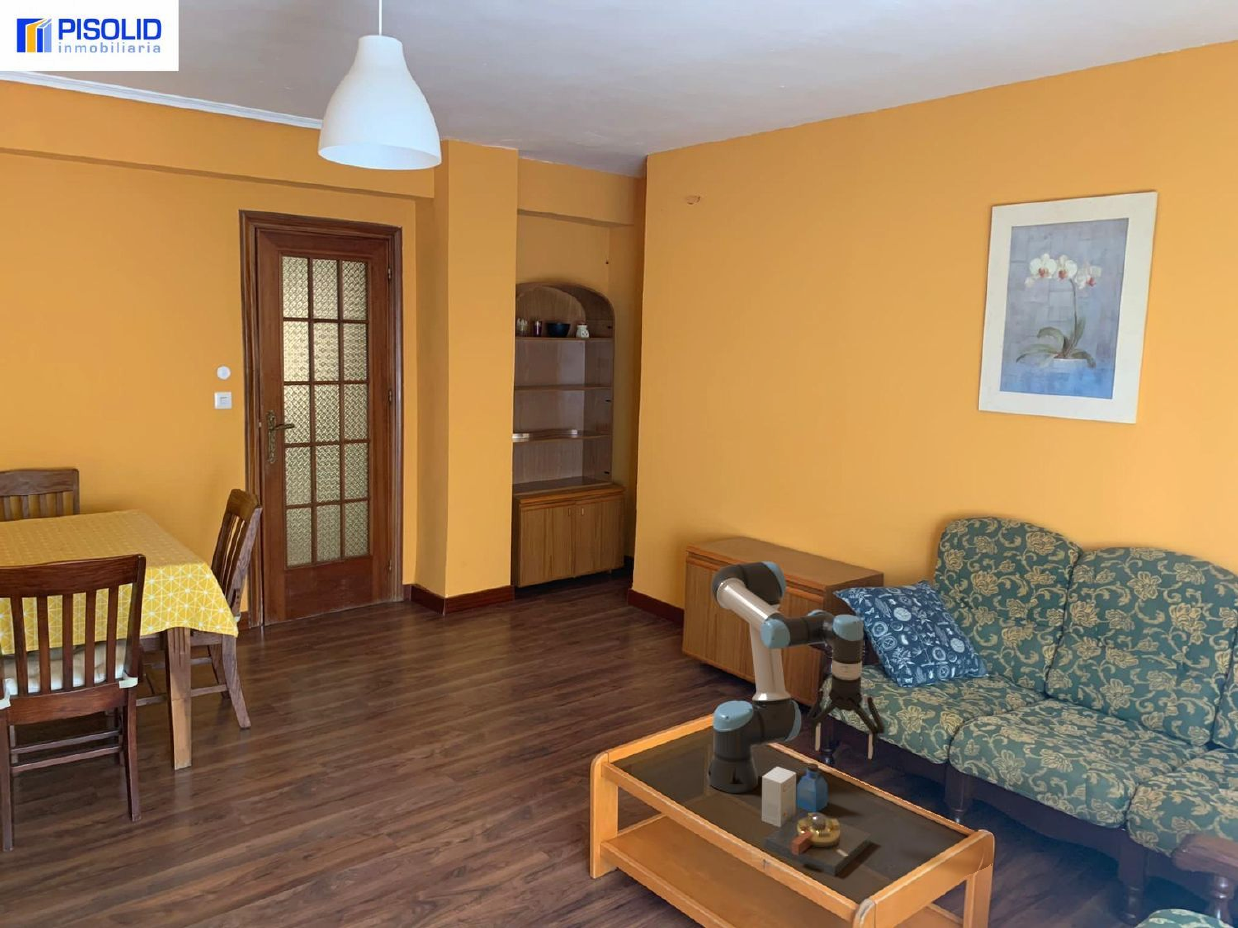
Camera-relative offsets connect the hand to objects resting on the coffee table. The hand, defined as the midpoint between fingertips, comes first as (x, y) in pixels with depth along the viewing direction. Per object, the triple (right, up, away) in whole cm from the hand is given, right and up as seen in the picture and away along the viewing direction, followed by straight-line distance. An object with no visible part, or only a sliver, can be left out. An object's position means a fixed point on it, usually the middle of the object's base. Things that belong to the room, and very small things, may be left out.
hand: (843, 752), depth 245 cm
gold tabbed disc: (-9, -21, -4) cm, 24 cm away
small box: (-15, -22, +12) cm, 29 cm away
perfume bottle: (-4, -21, +19) cm, 29 cm away
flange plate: (-7, -24, -2) cm, 25 cm away
